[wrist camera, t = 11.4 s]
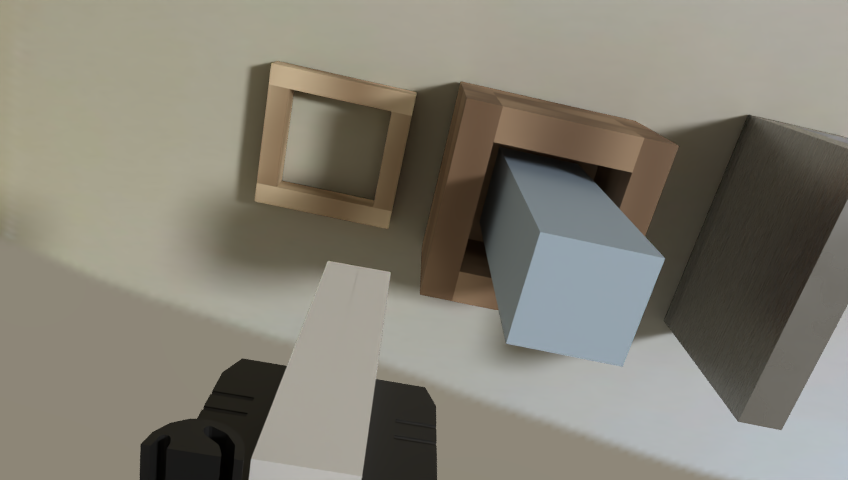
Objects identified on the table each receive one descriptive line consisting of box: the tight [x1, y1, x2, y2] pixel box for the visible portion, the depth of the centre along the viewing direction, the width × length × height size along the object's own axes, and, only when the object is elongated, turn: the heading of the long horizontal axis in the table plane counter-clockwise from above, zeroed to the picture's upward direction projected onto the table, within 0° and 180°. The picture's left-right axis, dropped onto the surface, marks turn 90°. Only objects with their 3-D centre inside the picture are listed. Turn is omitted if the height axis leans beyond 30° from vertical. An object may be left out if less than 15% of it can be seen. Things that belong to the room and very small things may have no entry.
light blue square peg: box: [480, 147, 665, 367], centre depth 25 cm, size 4×4×12 cm
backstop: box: [664, 115, 848, 430], centre depth 29 cm, size 5×12×9 cm, turn 168°
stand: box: [255, 61, 417, 229], centre depth 31 cm, size 7×7×1 cm
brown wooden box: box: [420, 82, 679, 310], centre depth 29 cm, size 9×9×6 cm
